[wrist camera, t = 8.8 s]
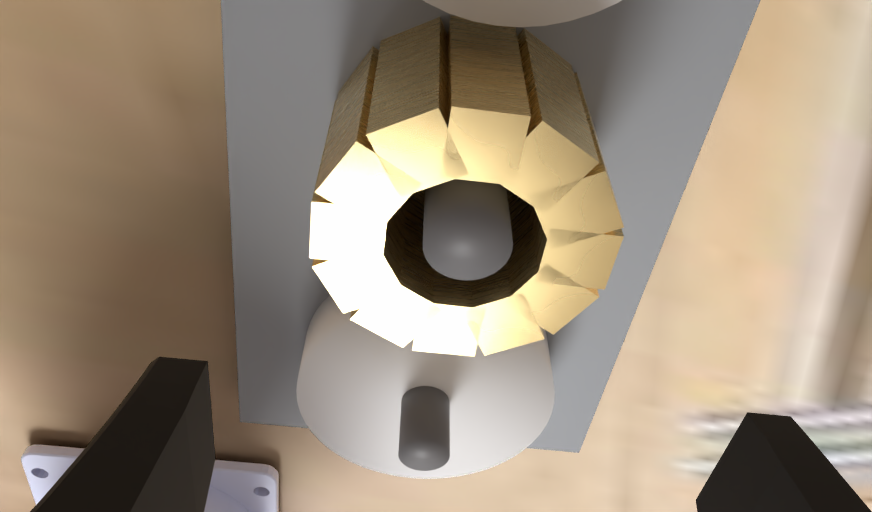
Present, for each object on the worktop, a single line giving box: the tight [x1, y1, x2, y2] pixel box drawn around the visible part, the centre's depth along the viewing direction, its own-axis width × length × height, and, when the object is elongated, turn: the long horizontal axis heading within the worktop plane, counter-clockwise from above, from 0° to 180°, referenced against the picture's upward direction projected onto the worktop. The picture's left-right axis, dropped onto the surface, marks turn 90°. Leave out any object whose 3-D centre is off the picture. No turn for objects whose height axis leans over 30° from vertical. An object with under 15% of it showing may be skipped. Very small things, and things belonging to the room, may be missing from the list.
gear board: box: [221, 0, 760, 479], centre depth 15 cm, size 20×10×4 cm, turn 173°
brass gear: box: [309, 15, 624, 357], centre depth 15 cm, size 5×5×4 cm
